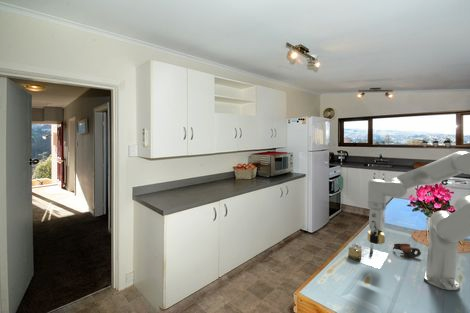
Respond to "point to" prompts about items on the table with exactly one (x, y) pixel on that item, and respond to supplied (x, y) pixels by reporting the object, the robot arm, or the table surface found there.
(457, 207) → the robot arm
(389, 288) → the table surface
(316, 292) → the table surface
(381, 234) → the planet gear
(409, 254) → the brown clawed ring bracket
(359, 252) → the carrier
